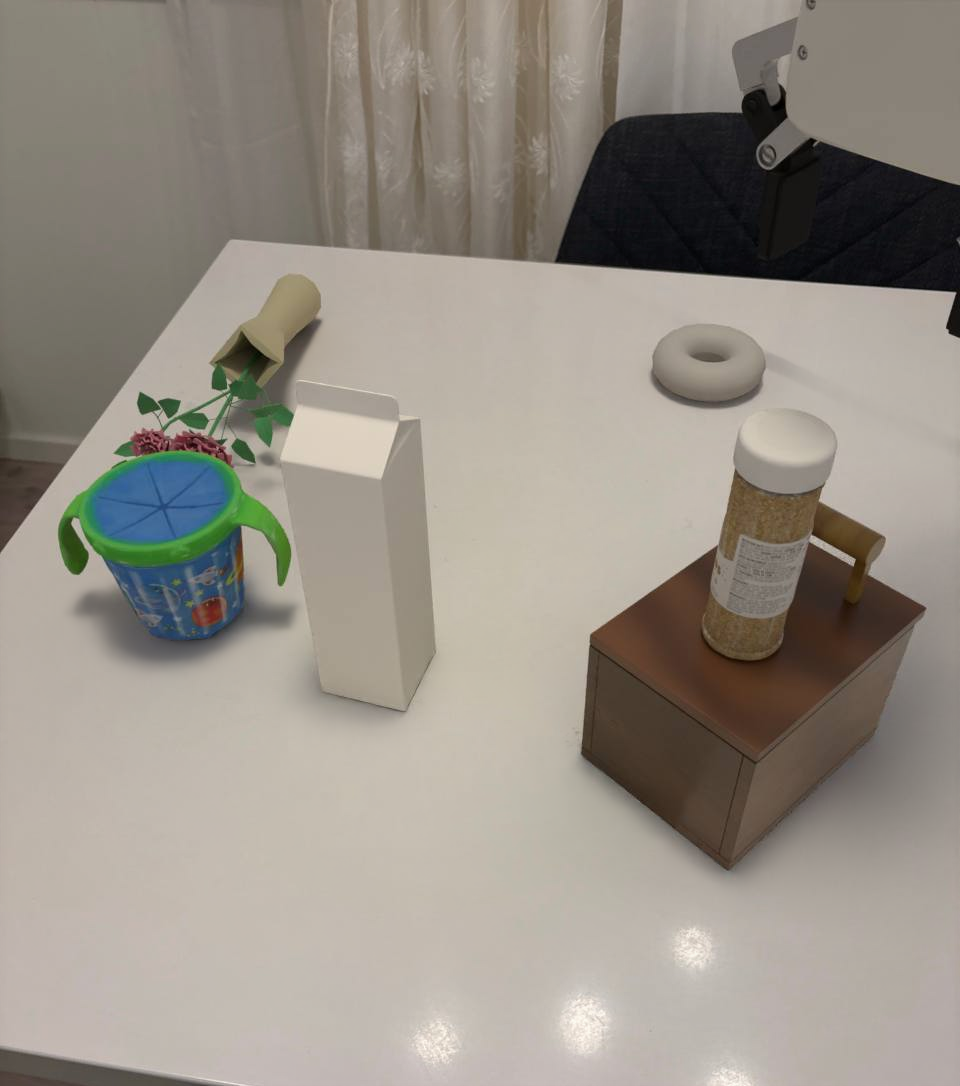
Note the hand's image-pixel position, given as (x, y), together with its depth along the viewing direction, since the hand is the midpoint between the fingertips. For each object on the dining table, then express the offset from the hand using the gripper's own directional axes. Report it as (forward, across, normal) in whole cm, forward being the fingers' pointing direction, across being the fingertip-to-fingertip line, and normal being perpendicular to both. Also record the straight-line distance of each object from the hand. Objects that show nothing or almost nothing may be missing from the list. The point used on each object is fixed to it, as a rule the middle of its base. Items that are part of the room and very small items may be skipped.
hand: (871, 285), depth 48 cm
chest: (+30, 0, +4) cm, 30 cm away
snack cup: (+29, +34, +22) cm, 50 cm away
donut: (+30, +28, -28) cm, 50 cm away
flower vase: (+30, +51, +5) cm, 59 cm away
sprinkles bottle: (+19, 0, +5) cm, 20 cm away
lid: (+20, 0, +3) cm, 20 cm away
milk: (+30, +20, +16) cm, 39 cm away
